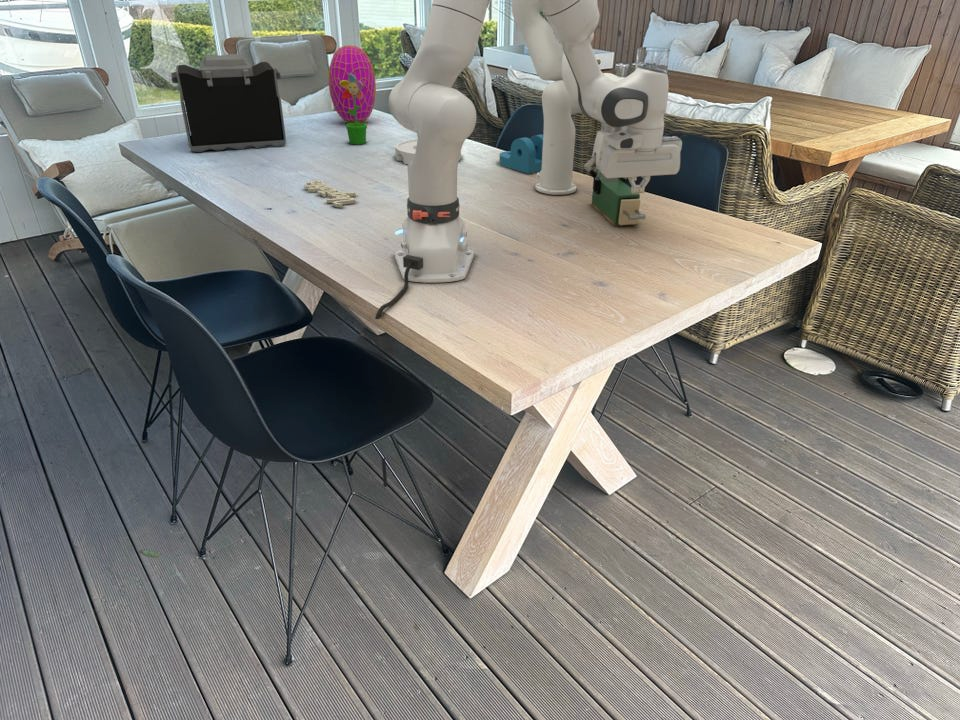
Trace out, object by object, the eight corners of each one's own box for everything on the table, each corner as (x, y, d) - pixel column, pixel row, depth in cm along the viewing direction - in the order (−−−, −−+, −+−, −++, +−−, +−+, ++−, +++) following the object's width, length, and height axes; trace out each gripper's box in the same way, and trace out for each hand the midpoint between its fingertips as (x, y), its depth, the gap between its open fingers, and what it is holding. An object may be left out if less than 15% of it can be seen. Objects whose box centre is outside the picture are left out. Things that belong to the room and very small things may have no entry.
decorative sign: (368, 198, 199) (337, 205, 193) (368, 202, 199) (337, 208, 194) (326, 178, 217) (297, 183, 211) (326, 181, 217) (297, 186, 212)
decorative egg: (362, 116, 305) (357, 42, 290) (386, 123, 292) (382, 46, 277) (324, 121, 294) (316, 45, 279) (347, 129, 281) (340, 49, 266)
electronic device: (283, 133, 274) (272, 51, 259) (291, 146, 256) (280, 59, 241) (185, 140, 262) (168, 54, 247) (186, 153, 245) (167, 62, 229)
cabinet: (636, 224, 186) (640, 194, 181) (614, 226, 184) (618, 195, 180) (611, 203, 201) (614, 175, 197) (591, 204, 200) (594, 176, 196)
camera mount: (550, 168, 233) (552, 137, 227) (527, 173, 227) (529, 141, 222) (515, 157, 245) (516, 127, 239) (493, 162, 239) (493, 131, 234)
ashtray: (454, 167, 232) (454, 155, 230) (388, 164, 235) (387, 152, 233) (466, 151, 252) (466, 140, 250) (404, 148, 255) (404, 137, 253)
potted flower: (342, 144, 260) (336, 73, 247) (351, 139, 266) (346, 70, 254) (365, 146, 257) (360, 74, 245) (374, 141, 264) (369, 71, 251)
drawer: (645, 230, 179) (648, 206, 176) (627, 231, 178) (630, 207, 175) (613, 204, 198) (616, 181, 195) (597, 204, 197) (599, 182, 194)
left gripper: (677, 132, 174) (669, 186, 181) (600, 136, 170) (595, 191, 177) (688, 138, 168) (680, 194, 175) (610, 142, 165) (604, 198, 172)
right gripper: (639, 123, 190) (631, 187, 199) (580, 125, 187) (574, 190, 196) (650, 128, 184) (642, 194, 193) (589, 131, 181) (583, 198, 190)
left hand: (637, 192), depth 176 cm, fingers closed
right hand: (608, 191), depth 194 cm, fingers closed on cabinet, 6 cm apart
